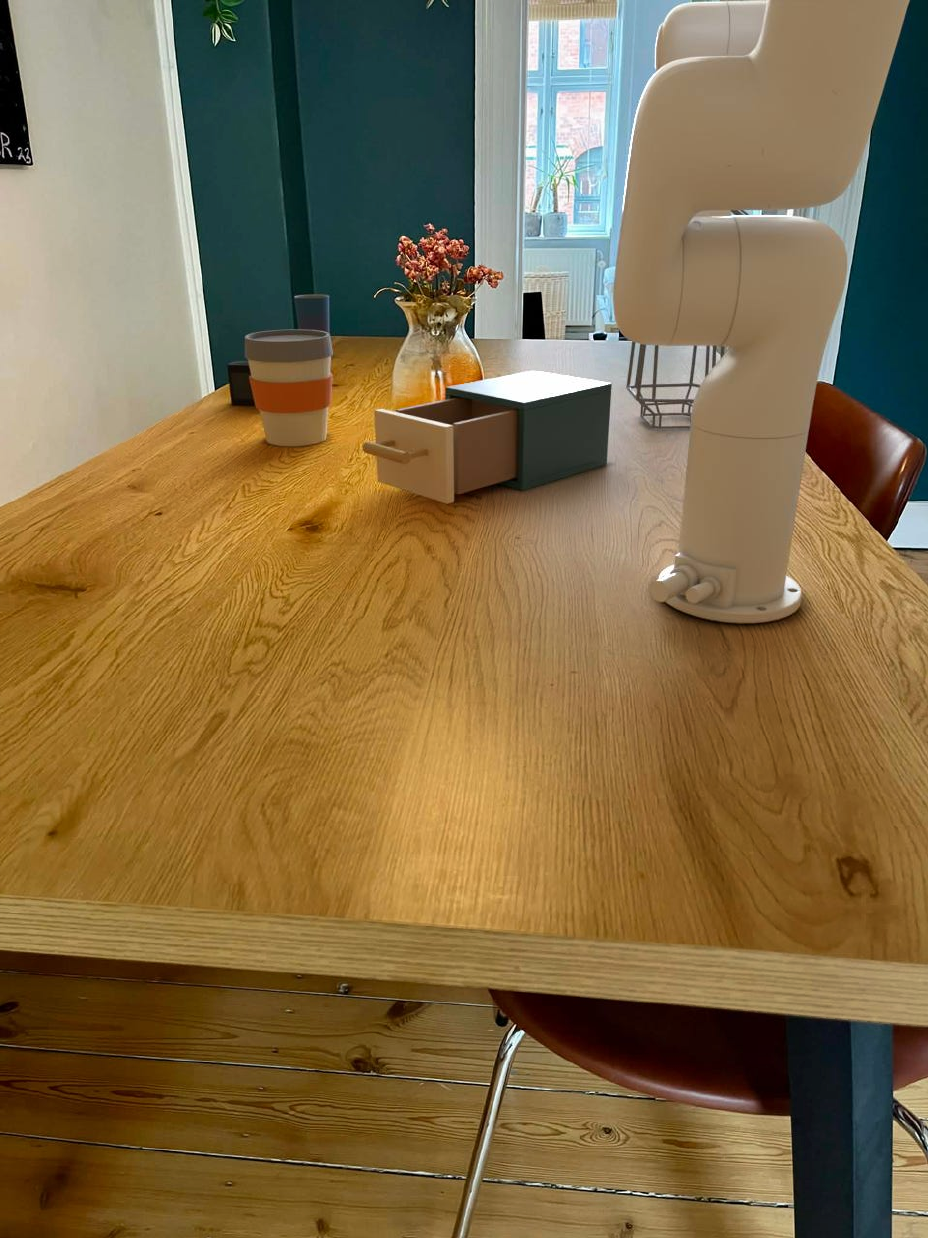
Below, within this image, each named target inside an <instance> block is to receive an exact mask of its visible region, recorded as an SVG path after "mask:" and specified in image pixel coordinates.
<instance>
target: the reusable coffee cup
mask: <svg viewBox="0 0 928 1238" xmlns="http://www.w3.org/2000/svg"><path fill="white" fill-rule="evenodd" d="M331 339H332V338H331V334H330V332H329V333H327V332H324V331H318V330H299V329H274V330H265V331H257V332H252V333H248V334H246V335H245V336H244V358H245V359H247V361H248V362H249V367H250V371H251V376H250V377H249V380H250V384H251V388H252V393H253V397H254V401H255V408H256V409H257V410H258V411H259V415H260V418H261V422H262V423H261V424H262V429H263V432H264V437H265V441H266V443H268V444H270V445H273V446H278V447H305V446H311V445H316V444H319V443H322V442H324V441H325V440H326V439H327V435H328V434H327V432H328V416H329V415H328V414H329V407H330V406H331V404H332V394H333V392H332V390H333V377H334V376H333V375H334V374H333V372H331V358H332V356H333V355H334V351H333V345H332V340H331Z"/></svg>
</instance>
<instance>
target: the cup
mask: <svg viewBox="0 0 928 1238" xmlns="http://www.w3.org/2000/svg"><path fill="white" fill-rule="evenodd" d="M293 299H294V306H295V313H296V321H297V329H298V330H318V331H324V332H327V333H329V334H330V295H328V294H300V295H295V296H293Z"/></svg>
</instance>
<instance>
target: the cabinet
mask: <svg viewBox="0 0 928 1238" xmlns="http://www.w3.org/2000/svg"><path fill="white" fill-rule="evenodd" d="M612 386H613V383H611V382H606V381H600V380H594V379H588V378H581V377H575V376H570V375H563V374H557V373H551V372H547V371H541V370H534V369H533V370H528V371H523V372H517V373H513V374H507V375H502V376H501V375H500V376H496V377H491V378H486V379H485V378H484V379H480V380H478V381H475V382H470V383H464V384H460V383H459V384H454V385H449V386H445V388H444V391H445V394H444V397H445V399H444V400H446V399H451V398H456V397H462V398H467V399H472V400H477V401H482V402H487V403H492V404H496V405H501V406H506V407H511V408H516V409H519V434H518V477H516V478H513V479H509V480H506V481H503V482H499V483H497V484H498V485H502V486H506V487H509V488H512V489H514V490H515V489H516V490H519V491H526V490H528V489H532V488H536V487H538V486H542V485H545V484H548V483H551V482H554V481H555V482H556V481H558V480H560V479H564V478H568V477H570V476H574V475H578V474H580V473H584V472H587V471H590V470H594V469H597V468H600V467H602V466H606V465H608V450H609V436H610V435H609V434H610V433H609V432H610V417H611V403H612V402H611V401H612V388H613V387H612Z"/></svg>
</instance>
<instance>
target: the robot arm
mask: <svg viewBox="0 0 928 1238" xmlns="http://www.w3.org/2000/svg"><path fill="white" fill-rule="evenodd" d="M910 1H911V0H730V1H729V0H724V1H693V2H692V1H691V2H684V3H681V4H679V5H676V6H675V7H673V8H672V9H671V10H670V11H669V12H668V13H667V15H666V17H665V18H664V21H663V22H661V23H660V24H659V27H658V28H657V33H656V39H655V45H654V68H655V73H653V74H652V76H651V77H650V78H649V80H648V81H647V83H646V85H645V87H644V90H643V92H642V94H641V97H640V99H639V103H638V106H637V109H636V114H635V117H634V123H633V127H632V134H631V140H630V146H629V154H628V162H627V169H626V170H627V171H626V178H625V185H624V195H623V202H622V203H623V204H622V210H621V211H622V212H621V217H620V218H621V220H620V228H619V234H618V235H619V236H618V243H617V252H616V258H615V268H614V278H613V292H612V303H613V306H612V307H613V314H614V320H615V324H616V326H617V328H618V331H619V332H620V333H621V335H623V336H624V338H626V339H627V340H629V341H630V342H632V341H633V342H635V344H639V345H640V344H644V345H646V346H655V345H659V346H665V347H678V346H679V347H694V346H697V347H700V346H701V347H704V346H705V347H706V346H710V347H713V346H716V347H721V346H723V347H725V348H728V349H727V350H726V352H724V355H723V357H722V358H721V359H718V361H717V362H716V365H715V366H714V367H713V368H712V367H711V369H710V370H709V373H708V375H707V376H706V377H705V376H704V378H703V380H702V382H701V383H700V387H699V388H698V389H697V392H696V393H695V396H694V398H695V399H694V398H693V399H694V402H693V403H692V404H693V407H691V413H692V416H691V417H690V426H691V428H689V429H690V430H689V440H688V449H687V457H686V458H687V459H686V469H685V479H684V488H683V489H684V490H683V500H682V511H681V519H680V520H681V522H680V530H679V540H678V550H677V554H675V555H674V562H673V563H674V564H673V565H671V566H668V567H667V568H665V569H664V570H662V571H661V572H660V574H659V575H658V578H657V579H656V580H654V581H652V582H651V584H650V586H649V593H650V596H651V597H652V598H653V600H654V601H656V602H658V603H664V602H665V603H666V604H667V605H669V606H670V607H672V608H673V609H675V610H677V611H680V612H682V613H684V614H687V615H690V616H693V617H696V618H700V619H705V620H709V621H714V622H720V623H727V624H728V623H729V624H760V623H769V622H773V621H778V620H781V619H784V618H788V616H790V615H793V614H794V613H796V611H798V609H799V608H800V607H801V603H802V597H803V590H802V588H801V586H800V585H799V584H798V583H797V581H795V579H793V578H792V577H790V576H788V575H787V574H788V567H789V561H790V555H791V554H790V553H791V549H792V542H793V535H794V529H795V522H796V515H797V509H798V508H797V507H798V503H799V497H800V490H801V485H802V484H801V483H802V477H803V470H804V464H805V457H806V450H807V444H808V437H809V430H810V426H811V420H812V413H813V407H814V401H815V395H816V389H817V384H818V379H819V375H820V371H821V366H822V362H823V358H824V355H825V351H826V346H827V343H828V340H829V337H830V333H831V331H832V327H833V324H834V321H835V318H836V315H837V313H838V309H839V306H840V304H841V300H842V297H843V293H844V289H845V285H846V280H847V273H848V254H847V250H846V247H845V244H844V241H843V239H842V237H841V236H840V235H839V234H838V232H837V231H836V230H834V229H833V228H832V227H831V226H829V225H828V224H826V223H824V222H822V221H819V220H817V219H813V218H809V217H803V216H798V215H797V216H796V215H784V214H783V215H782V214H781V215H780V214H779V215H778V214H777V215H776V214H772V215H771V214H764V215H762V214H760V215H752V214H749V215H748V216H746V215H745V216H736V215H732V212H731V210H738V211H740V210H744V211H786V210H787V211H788V210H802V209H810V208H816V207H817V208H818V207H820V206H824V205H826V204H827V205H828V204H830V203H831V202H834V201H836V200H837V199H838V198H839V197H841V196H842V195H843V194H844V192H845V191H846V190H847V188H848V187H849V186H850V184H851V182H852V180H853V179H854V177H855V175H856V173H857V170H858V168H859V165H860V163H861V161H862V158H863V155H864V152H865V149H866V147H867V143H868V140H869V137H870V133H871V130H872V127H873V125H874V121H875V117H876V115H877V111H878V108H879V104H880V101H881V97H882V95H883V91H884V88H885V86H886V85H885V84H886V82H887V77H888V74H889V71H890V67H891V64H892V62H893V61H892V60H893V58H894V54H895V51H896V47H897V44H898V41H899V38H900V34H901V32H902V31H901V30H902V28H903V24H904V20H905V17H906V13H907V9H908V6H909V4H910ZM731 215H732V216H731Z"/></svg>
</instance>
